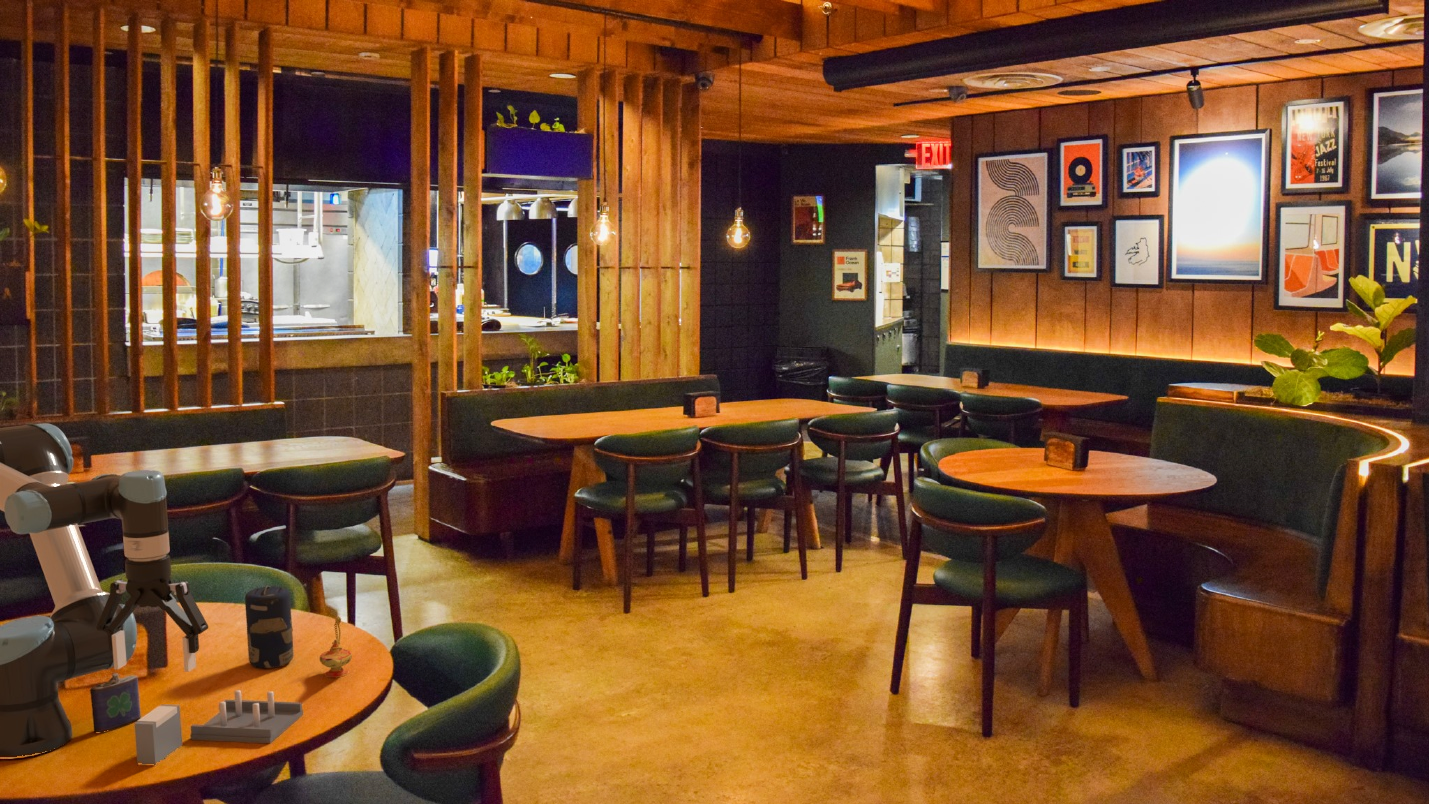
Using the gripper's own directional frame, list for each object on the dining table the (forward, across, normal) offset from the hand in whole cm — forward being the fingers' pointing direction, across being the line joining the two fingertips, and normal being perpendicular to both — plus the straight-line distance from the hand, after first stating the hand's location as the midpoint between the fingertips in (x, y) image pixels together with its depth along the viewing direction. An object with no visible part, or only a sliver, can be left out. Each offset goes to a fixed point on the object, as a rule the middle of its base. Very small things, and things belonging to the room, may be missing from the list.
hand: (155, 668), depth 225 cm
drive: (+17, 0, 0) cm, 17 cm away
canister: (+17, -2, +48) cm, 51 cm away
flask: (+17, -16, +12) cm, 26 cm away
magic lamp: (+17, +16, +42) cm, 48 cm away
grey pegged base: (+17, +10, +14) cm, 24 cm away
